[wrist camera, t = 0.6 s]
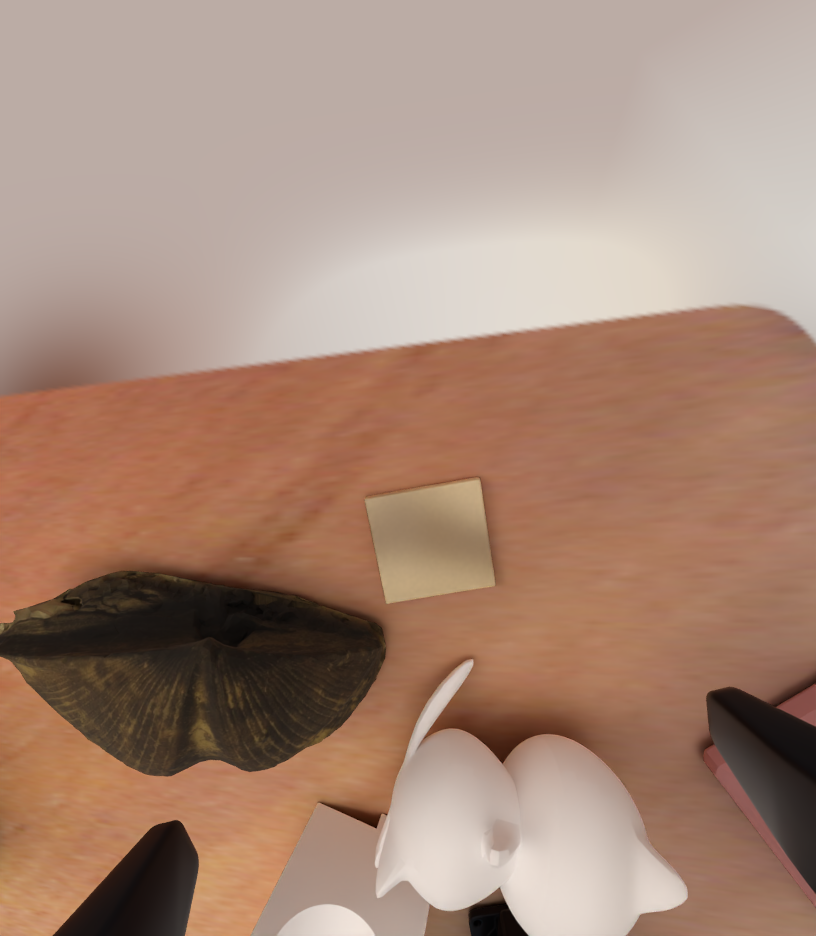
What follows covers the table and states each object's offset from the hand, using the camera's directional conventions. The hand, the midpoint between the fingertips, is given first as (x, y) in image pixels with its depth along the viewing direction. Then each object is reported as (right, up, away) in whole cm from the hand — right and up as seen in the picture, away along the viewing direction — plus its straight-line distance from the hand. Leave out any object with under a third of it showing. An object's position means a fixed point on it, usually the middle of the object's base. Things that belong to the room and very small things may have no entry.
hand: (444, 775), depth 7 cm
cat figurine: (+4, -10, +17) cm, 20 cm away
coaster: (0, +2, +14) cm, 14 cm away
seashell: (-10, -4, +16) cm, 19 cm away
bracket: (-4, -20, +19) cm, 29 cm away
